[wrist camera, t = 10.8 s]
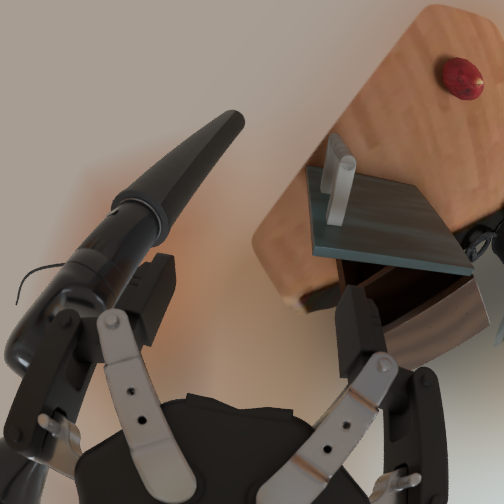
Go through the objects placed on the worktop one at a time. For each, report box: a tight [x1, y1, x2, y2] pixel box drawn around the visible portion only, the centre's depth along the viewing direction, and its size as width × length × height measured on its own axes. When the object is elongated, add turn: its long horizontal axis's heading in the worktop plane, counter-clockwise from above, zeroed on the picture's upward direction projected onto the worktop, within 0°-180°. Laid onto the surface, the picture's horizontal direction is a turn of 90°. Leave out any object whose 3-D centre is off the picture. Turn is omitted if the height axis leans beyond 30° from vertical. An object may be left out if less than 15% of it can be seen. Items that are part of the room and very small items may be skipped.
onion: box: [442, 57, 484, 100], centre depth 21 cm, size 6×6×8 cm
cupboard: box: [336, 259, 490, 371], centre depth 35 cm, size 12×17×19 cm
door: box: [305, 133, 474, 276], centre depth 26 cm, size 8×17×19 cm, turn 87°
